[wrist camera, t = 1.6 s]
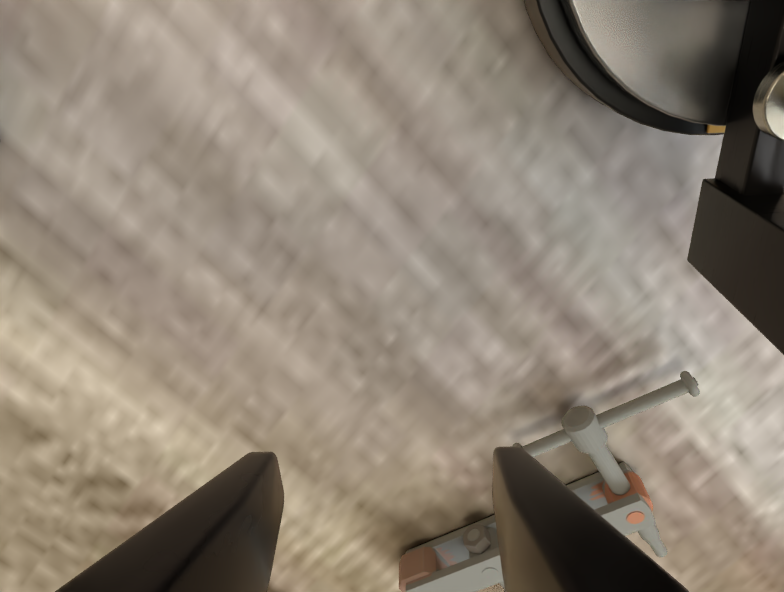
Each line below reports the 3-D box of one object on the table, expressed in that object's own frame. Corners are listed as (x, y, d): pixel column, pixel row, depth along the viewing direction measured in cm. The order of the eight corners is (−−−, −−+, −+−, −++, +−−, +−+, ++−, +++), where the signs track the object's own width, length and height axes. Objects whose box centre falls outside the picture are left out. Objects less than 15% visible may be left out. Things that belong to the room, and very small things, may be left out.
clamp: (462, 664, 28) (342, 540, 24) (459, 620, 30) (348, 498, 26) (786, 555, 24) (702, 385, 20) (757, 512, 25) (676, 349, 22)
